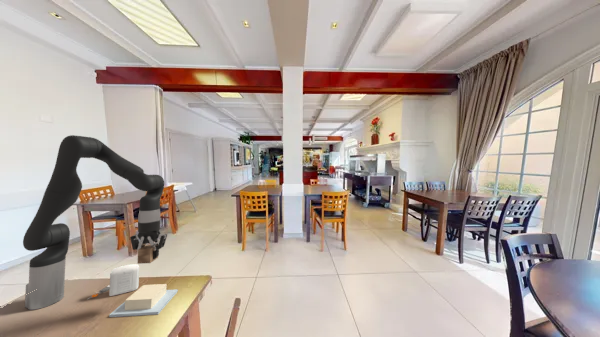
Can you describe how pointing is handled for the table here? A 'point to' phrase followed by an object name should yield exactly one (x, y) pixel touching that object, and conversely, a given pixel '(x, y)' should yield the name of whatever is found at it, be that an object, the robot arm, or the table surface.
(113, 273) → the photo printer
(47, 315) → the table surface
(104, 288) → the key chain
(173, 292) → the butter dish
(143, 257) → the walnut block
